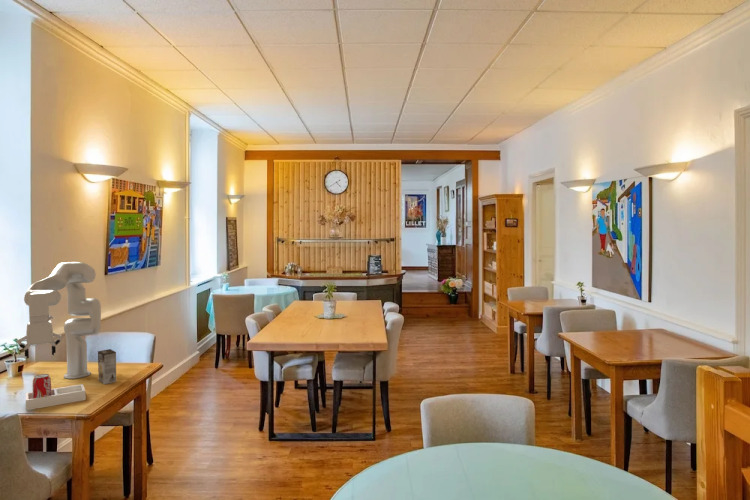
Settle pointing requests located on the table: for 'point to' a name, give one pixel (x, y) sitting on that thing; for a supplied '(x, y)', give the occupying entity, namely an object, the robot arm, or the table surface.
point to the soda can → (41, 386)
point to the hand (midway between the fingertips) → (40, 356)
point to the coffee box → (107, 366)
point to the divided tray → (57, 397)
